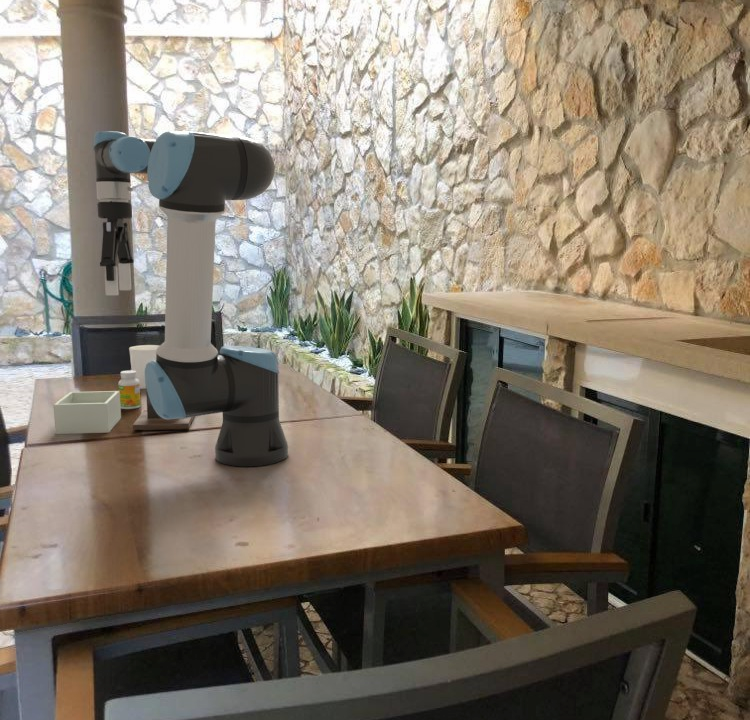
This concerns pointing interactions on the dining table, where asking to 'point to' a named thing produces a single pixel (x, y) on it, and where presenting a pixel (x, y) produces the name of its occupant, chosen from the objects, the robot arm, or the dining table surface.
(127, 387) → the supplement bottle
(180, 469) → the dining table surface
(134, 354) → the candle holder
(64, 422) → the sage box
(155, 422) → the walnut lid
